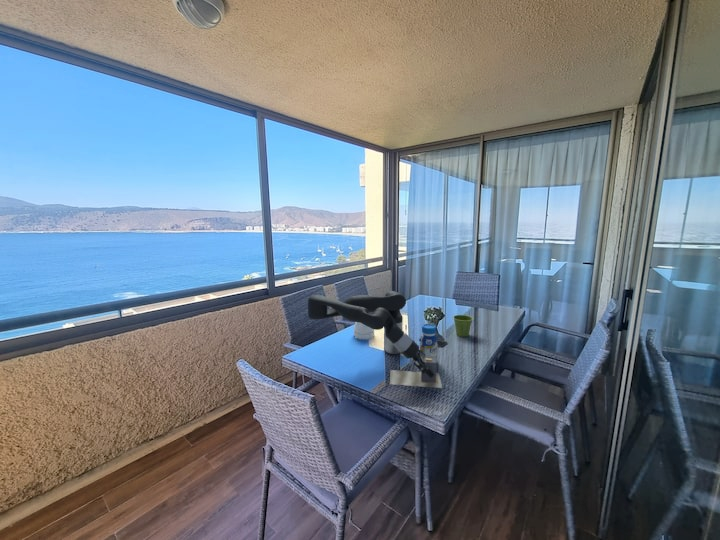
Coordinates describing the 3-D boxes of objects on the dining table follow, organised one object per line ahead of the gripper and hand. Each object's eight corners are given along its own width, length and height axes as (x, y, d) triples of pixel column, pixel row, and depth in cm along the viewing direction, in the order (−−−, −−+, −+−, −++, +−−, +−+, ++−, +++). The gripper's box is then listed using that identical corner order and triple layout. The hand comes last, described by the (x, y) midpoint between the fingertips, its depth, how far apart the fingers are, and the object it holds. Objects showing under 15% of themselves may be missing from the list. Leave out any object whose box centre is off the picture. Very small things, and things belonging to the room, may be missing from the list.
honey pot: (377, 337, 178) (377, 309, 175) (358, 341, 173) (357, 312, 170) (369, 330, 190) (369, 304, 187) (350, 333, 185) (350, 306, 182)
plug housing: (421, 381, 126) (422, 360, 124) (420, 376, 130) (421, 356, 128) (435, 382, 125) (436, 361, 123) (434, 377, 129) (435, 357, 127)
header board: (389, 387, 124) (389, 377, 123) (390, 373, 136) (390, 364, 135) (442, 391, 121) (442, 381, 120) (438, 376, 133) (439, 367, 132)
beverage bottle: (424, 358, 150) (425, 321, 147) (439, 363, 145) (441, 325, 141) (416, 364, 143) (417, 326, 140) (432, 370, 138) (433, 330, 135)
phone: (424, 335, 178) (447, 341, 169) (424, 337, 179) (447, 343, 169) (418, 339, 173) (441, 346, 163) (418, 341, 173) (441, 348, 163)
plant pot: (469, 331, 186) (470, 314, 184) (474, 338, 175) (475, 321, 173) (450, 331, 187) (451, 314, 186) (454, 338, 176) (455, 320, 174)
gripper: (399, 343, 134) (424, 368, 134) (399, 357, 120) (426, 385, 120) (411, 333, 132) (436, 358, 132) (412, 346, 118) (440, 374, 119)
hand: (431, 371), depth 126 cm, fingers open, 8 cm apart
